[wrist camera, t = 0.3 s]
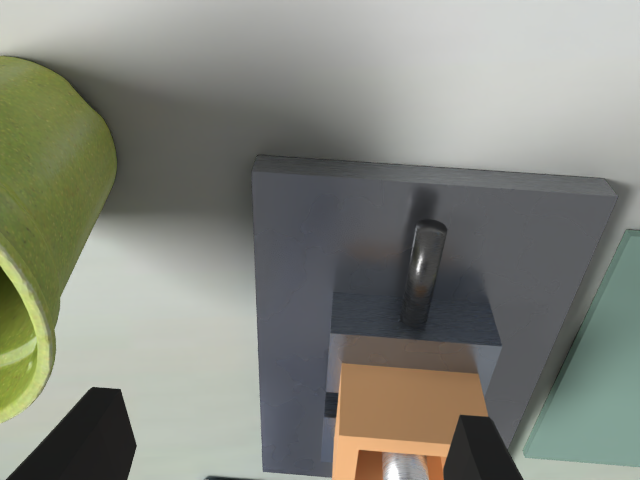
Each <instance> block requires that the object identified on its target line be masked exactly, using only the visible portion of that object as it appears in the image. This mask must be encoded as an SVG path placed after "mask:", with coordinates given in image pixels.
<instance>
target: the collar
mask: <svg viewBox="0 0 640 480" xmlns="http://www.w3.org/2000/svg"><path fill="white" fill-rule="evenodd" d="M460 415H471V416H485V417H488V413H487V408H486V404H485V400H484V395H483V391H482V387H481V383H480V378H479V374H473V373H461V372H448V371H435V370H422V369H409V368H397V367H384V366H371V365H358V364H346V363H342V366H341V376H340V386H339V396H338V406H337V416H336V426H335V436H334V449H333V471H332V480H383V470H382V452H392V453H404V454H416V455H426V456H427V465H428V474H429V480H444V478H443V468H444V465H445V462H446V458H447V455H448V452H449V448H450V445H451V442H452V439H453V435H454V432H455V429H456V425H457V422H458V419H459V416H460Z"/></svg>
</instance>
